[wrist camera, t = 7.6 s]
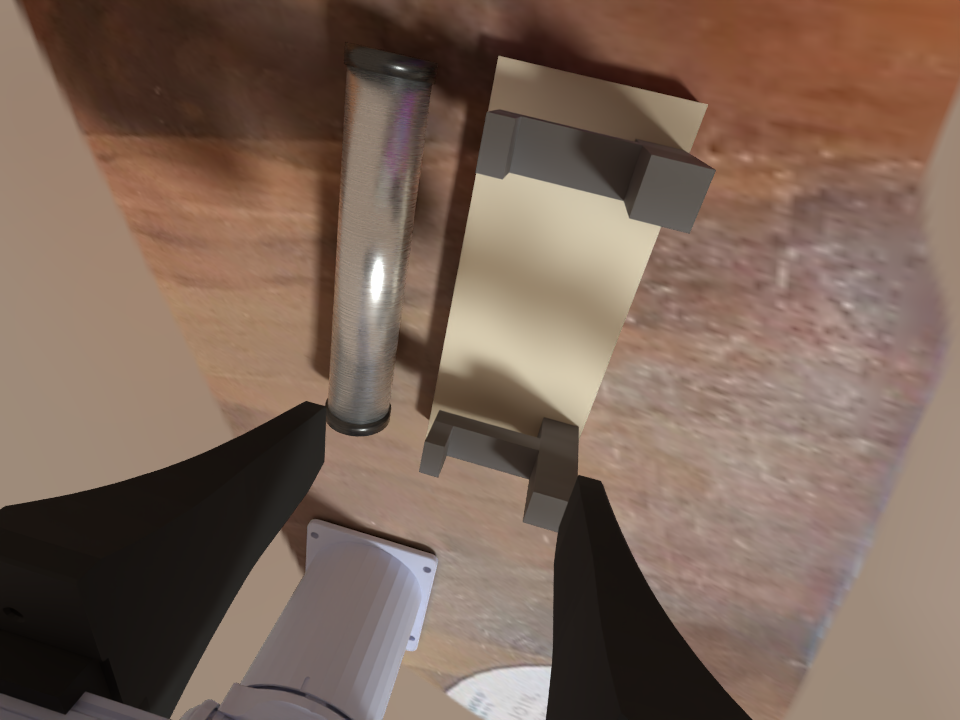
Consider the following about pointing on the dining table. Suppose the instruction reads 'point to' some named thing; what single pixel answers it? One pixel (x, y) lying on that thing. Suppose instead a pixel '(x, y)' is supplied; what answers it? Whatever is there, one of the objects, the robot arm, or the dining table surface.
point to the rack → (554, 267)
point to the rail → (374, 229)
